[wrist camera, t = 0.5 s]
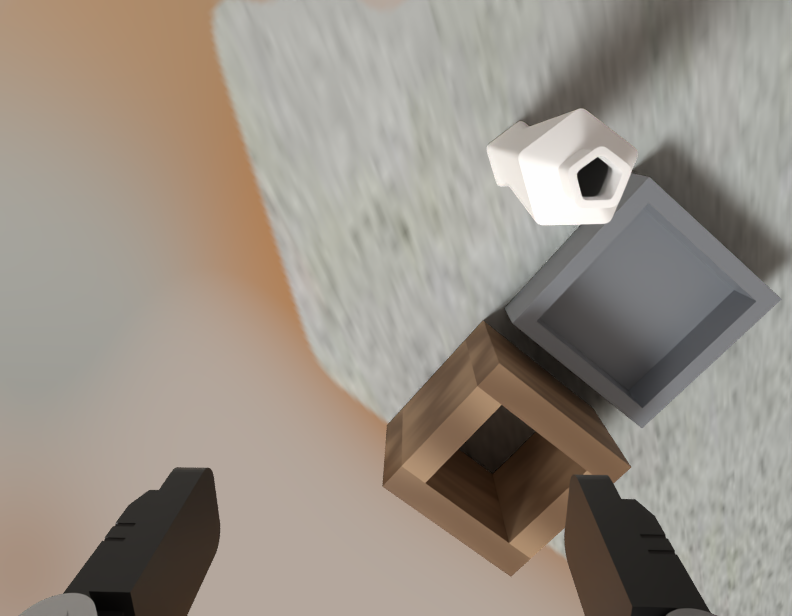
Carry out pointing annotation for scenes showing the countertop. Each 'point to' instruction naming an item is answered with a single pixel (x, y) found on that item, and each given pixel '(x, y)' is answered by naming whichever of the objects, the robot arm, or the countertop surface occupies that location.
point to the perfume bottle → (564, 168)
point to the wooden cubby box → (520, 475)
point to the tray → (640, 302)
